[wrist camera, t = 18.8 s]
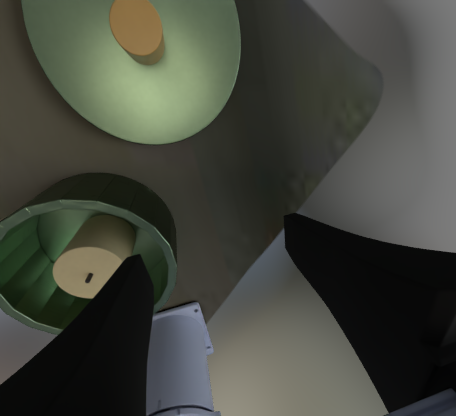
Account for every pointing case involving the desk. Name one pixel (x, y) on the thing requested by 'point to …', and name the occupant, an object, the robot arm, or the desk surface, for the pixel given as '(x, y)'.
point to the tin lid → (139, 62)
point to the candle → (94, 255)
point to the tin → (63, 233)
